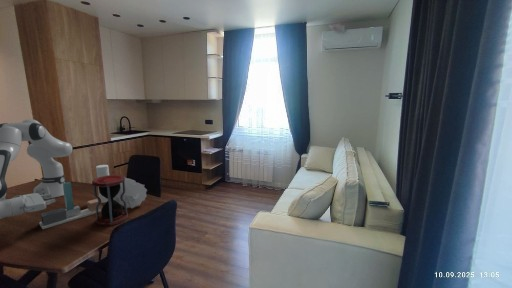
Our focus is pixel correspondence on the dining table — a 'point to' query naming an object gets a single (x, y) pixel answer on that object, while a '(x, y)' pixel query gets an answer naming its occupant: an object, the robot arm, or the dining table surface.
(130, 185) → the spiral staircase
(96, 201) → the salmon pink block
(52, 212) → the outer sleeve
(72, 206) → the teal oblong box
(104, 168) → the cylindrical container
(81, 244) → the dining table surface
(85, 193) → the dining table surface
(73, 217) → the base board
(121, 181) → the hourglass
